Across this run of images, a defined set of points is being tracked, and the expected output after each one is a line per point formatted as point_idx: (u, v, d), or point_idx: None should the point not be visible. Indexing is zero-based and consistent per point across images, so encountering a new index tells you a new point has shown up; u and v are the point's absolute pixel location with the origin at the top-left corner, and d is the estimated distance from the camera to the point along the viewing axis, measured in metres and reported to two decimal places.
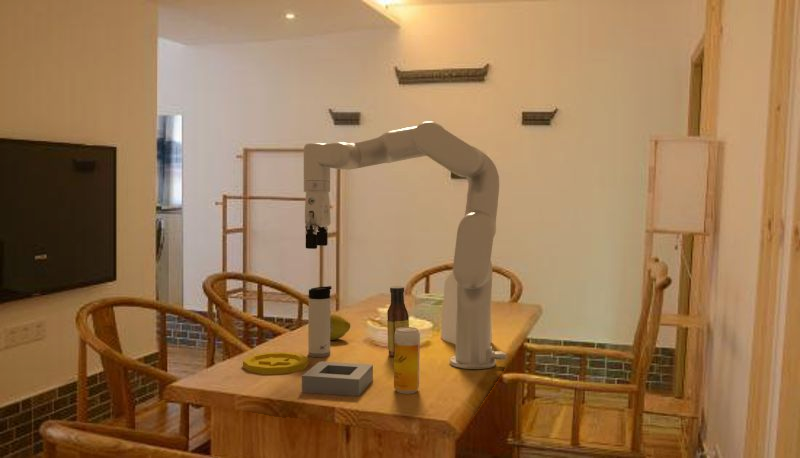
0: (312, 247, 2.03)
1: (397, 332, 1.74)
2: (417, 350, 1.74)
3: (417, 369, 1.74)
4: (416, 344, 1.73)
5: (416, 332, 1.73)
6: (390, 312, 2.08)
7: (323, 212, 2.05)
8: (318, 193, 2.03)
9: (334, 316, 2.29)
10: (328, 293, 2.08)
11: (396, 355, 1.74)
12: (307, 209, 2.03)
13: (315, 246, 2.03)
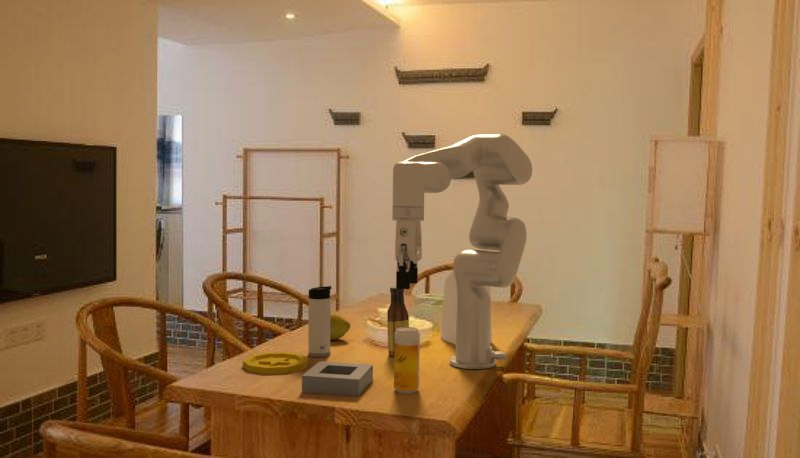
0: (404, 287, 1.69)
1: (397, 332, 1.74)
2: (417, 350, 1.74)
3: (417, 369, 1.74)
4: (416, 344, 1.73)
5: (416, 332, 1.73)
6: (390, 312, 2.08)
7: (417, 245, 1.70)
8: (412, 222, 1.69)
9: (334, 316, 2.29)
10: (328, 293, 2.08)
11: (396, 355, 1.74)
12: (398, 241, 1.69)
13: (408, 286, 1.69)
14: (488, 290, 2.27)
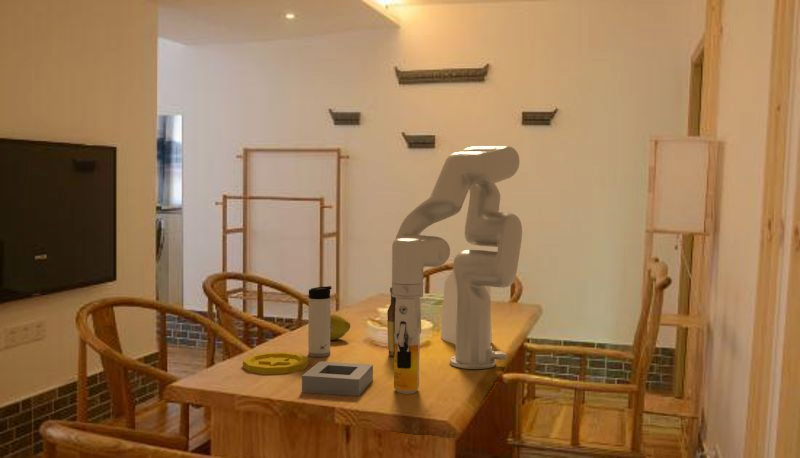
0: (405, 366, 1.72)
1: None
2: (417, 350, 1.74)
3: (417, 369, 1.74)
4: (416, 344, 1.73)
5: None
6: (390, 312, 2.08)
7: (416, 322, 1.72)
8: (411, 300, 1.70)
9: (334, 316, 2.29)
10: (328, 293, 2.08)
11: (396, 355, 1.74)
12: (398, 319, 1.70)
13: (409, 365, 1.72)
14: (488, 290, 2.27)
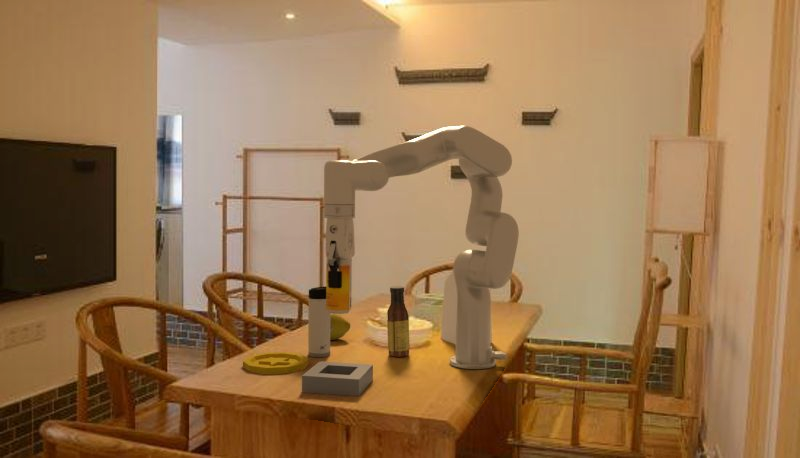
0: (336, 286, 1.74)
1: None
2: (349, 271, 1.76)
3: (348, 290, 1.76)
4: (347, 264, 1.75)
5: None
6: (390, 312, 2.08)
7: (347, 242, 1.74)
8: (341, 220, 1.72)
9: (334, 316, 2.29)
10: None
11: None
12: (328, 238, 1.72)
13: (339, 285, 1.74)
14: None
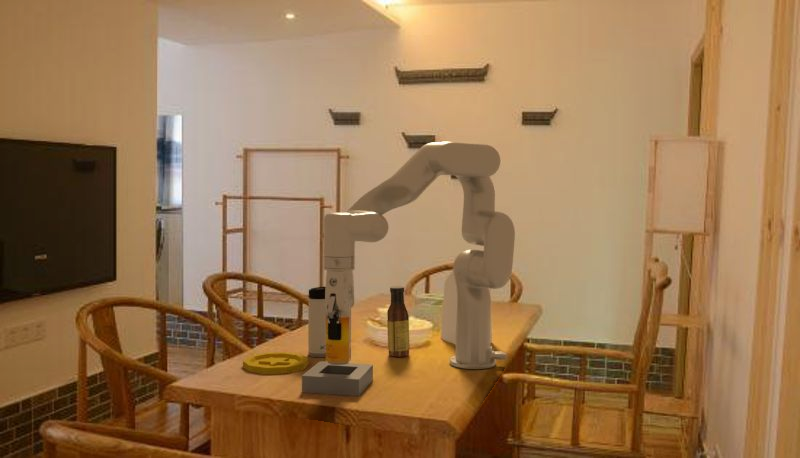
0: (335, 338, 1.75)
1: None
2: (348, 322, 1.77)
3: (348, 341, 1.77)
4: (346, 316, 1.76)
5: None
6: (390, 312, 2.08)
7: (347, 294, 1.75)
8: (341, 273, 1.73)
9: None
10: None
11: (327, 327, 1.77)
12: (328, 291, 1.73)
13: (339, 337, 1.75)
14: None
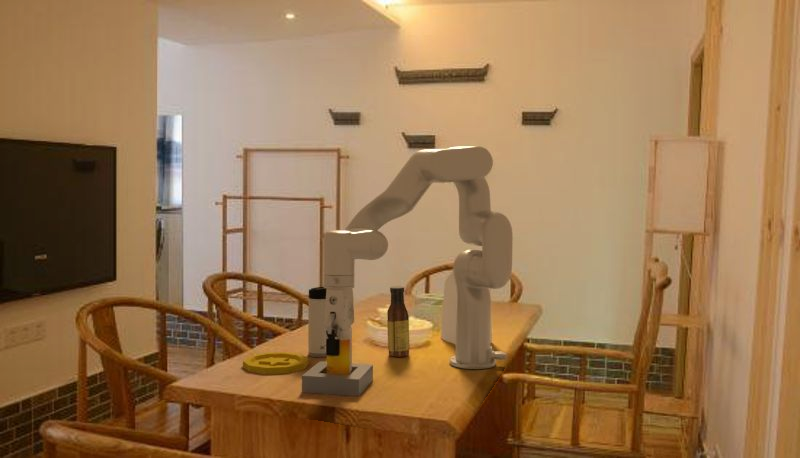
0: (334, 354, 1.74)
1: None
2: (349, 345, 1.77)
3: (349, 363, 1.77)
4: (347, 339, 1.77)
5: (348, 327, 1.77)
6: (390, 312, 2.08)
7: (346, 312, 1.75)
8: (341, 291, 1.73)
9: None
10: None
11: None
12: (328, 309, 1.73)
13: (337, 353, 1.73)
14: None
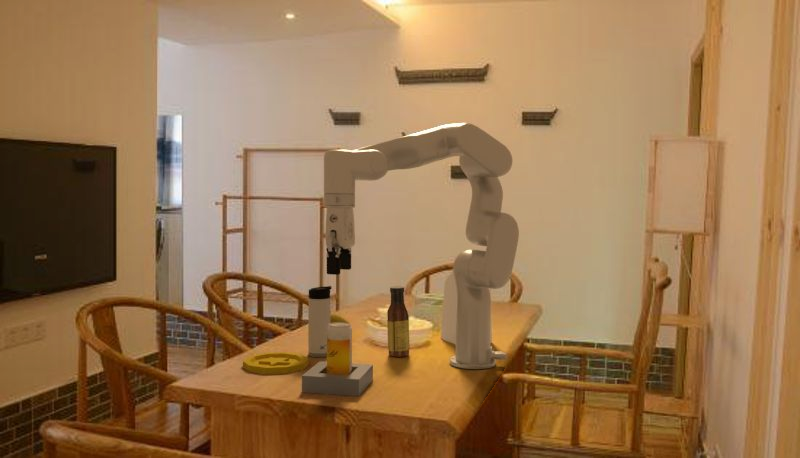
0: (334, 273, 1.72)
1: (329, 327, 1.77)
2: (349, 345, 1.77)
3: (349, 363, 1.77)
4: (347, 339, 1.77)
5: (348, 327, 1.77)
6: (390, 312, 2.08)
7: (347, 231, 1.74)
8: (341, 209, 1.72)
9: (334, 316, 2.29)
10: (328, 293, 2.08)
11: (328, 349, 1.77)
12: (328, 228, 1.72)
13: (338, 271, 1.72)
14: None
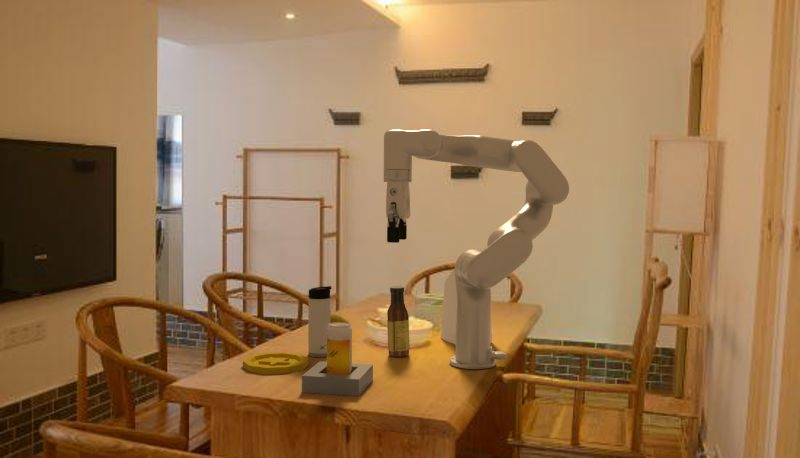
0: (394, 241, 1.90)
1: (329, 327, 1.77)
2: (349, 345, 1.77)
3: (349, 363, 1.77)
4: (347, 339, 1.77)
5: (348, 327, 1.77)
6: (390, 312, 2.08)
7: (405, 203, 1.92)
8: (401, 183, 1.90)
9: (334, 316, 2.29)
10: (328, 293, 2.08)
11: (328, 349, 1.77)
12: (389, 200, 1.90)
13: (397, 240, 1.90)
14: None
